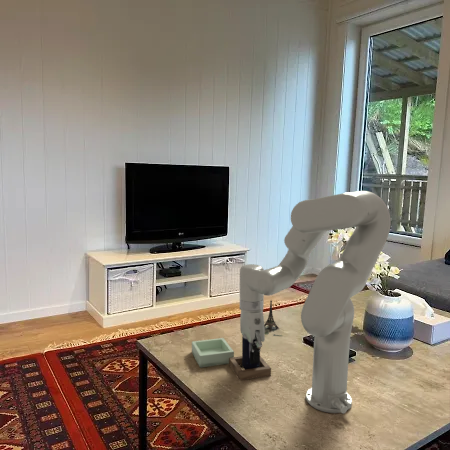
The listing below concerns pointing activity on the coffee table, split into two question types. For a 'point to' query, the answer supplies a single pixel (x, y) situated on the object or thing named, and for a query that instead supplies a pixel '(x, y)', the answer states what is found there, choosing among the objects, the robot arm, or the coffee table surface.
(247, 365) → the beverage can
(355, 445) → the coffee table surface
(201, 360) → the tray
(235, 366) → the socket block
